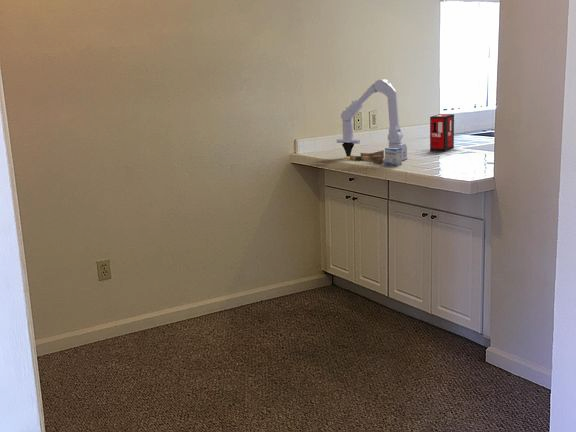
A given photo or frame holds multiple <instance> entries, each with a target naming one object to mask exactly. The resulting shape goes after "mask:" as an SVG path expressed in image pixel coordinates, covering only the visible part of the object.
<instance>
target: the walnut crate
mask: <svg viewBox="0 0 576 432" xmlns="http://www.w3.org/2000/svg"><path fill="white" fill-rule="evenodd" d="M383 159H384V158H382V156H376V155H375V156H373V161H372V163H376V165H382V164H383V162H384V161H383Z"/></svg>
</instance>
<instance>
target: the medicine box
mask: <svg viewBox="0 0 576 432" xmlns="http://www.w3.org/2000/svg"><path fill="white" fill-rule="evenodd" d="M402 164H403V160H402V149H401V148H389V147H386V148H384V165H385V166H394V165H395V166H396V167H398V166H402Z"/></svg>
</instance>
